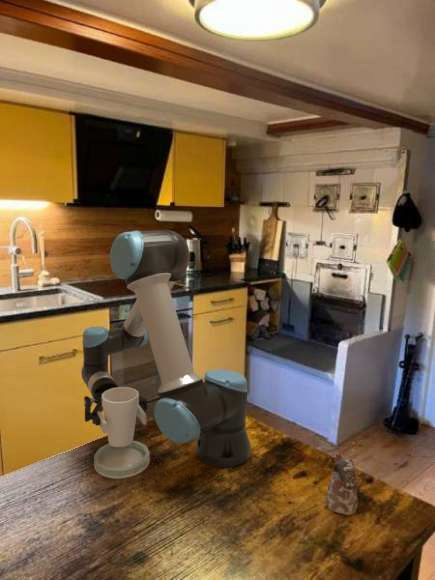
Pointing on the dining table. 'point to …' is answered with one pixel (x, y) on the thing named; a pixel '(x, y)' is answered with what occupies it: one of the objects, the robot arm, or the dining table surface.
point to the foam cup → (120, 414)
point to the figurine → (342, 487)
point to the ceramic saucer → (121, 460)
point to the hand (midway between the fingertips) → (125, 424)
